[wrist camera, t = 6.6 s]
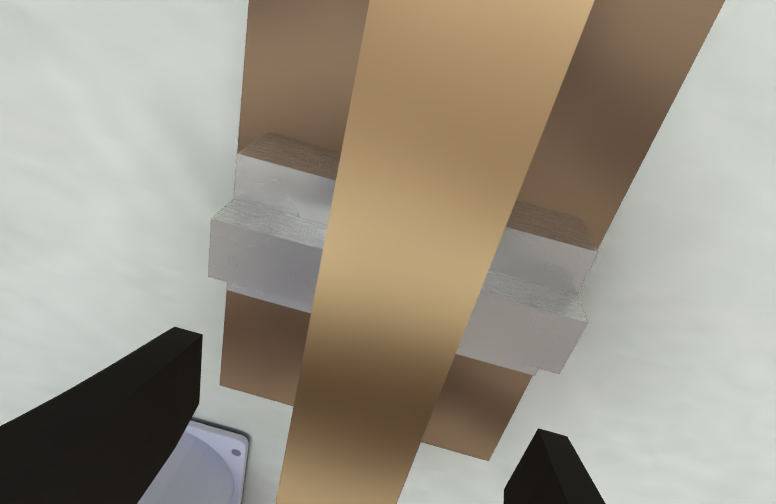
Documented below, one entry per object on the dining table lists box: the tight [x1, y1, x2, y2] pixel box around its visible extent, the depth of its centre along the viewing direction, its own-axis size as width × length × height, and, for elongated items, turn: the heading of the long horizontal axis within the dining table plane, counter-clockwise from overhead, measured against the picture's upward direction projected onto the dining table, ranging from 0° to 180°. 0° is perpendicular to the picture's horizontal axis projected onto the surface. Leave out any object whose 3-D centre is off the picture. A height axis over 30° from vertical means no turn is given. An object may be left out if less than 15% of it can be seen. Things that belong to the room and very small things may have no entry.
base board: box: [220, 0, 725, 461], centre depth 18 cm, size 20×13×1 cm, turn 167°
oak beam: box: [276, 0, 595, 504], centre depth 12 cm, size 22×3×4 cm, turn 167°
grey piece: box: [208, 133, 598, 376], centre depth 16 cm, size 5×11×4 cm, turn 77°
